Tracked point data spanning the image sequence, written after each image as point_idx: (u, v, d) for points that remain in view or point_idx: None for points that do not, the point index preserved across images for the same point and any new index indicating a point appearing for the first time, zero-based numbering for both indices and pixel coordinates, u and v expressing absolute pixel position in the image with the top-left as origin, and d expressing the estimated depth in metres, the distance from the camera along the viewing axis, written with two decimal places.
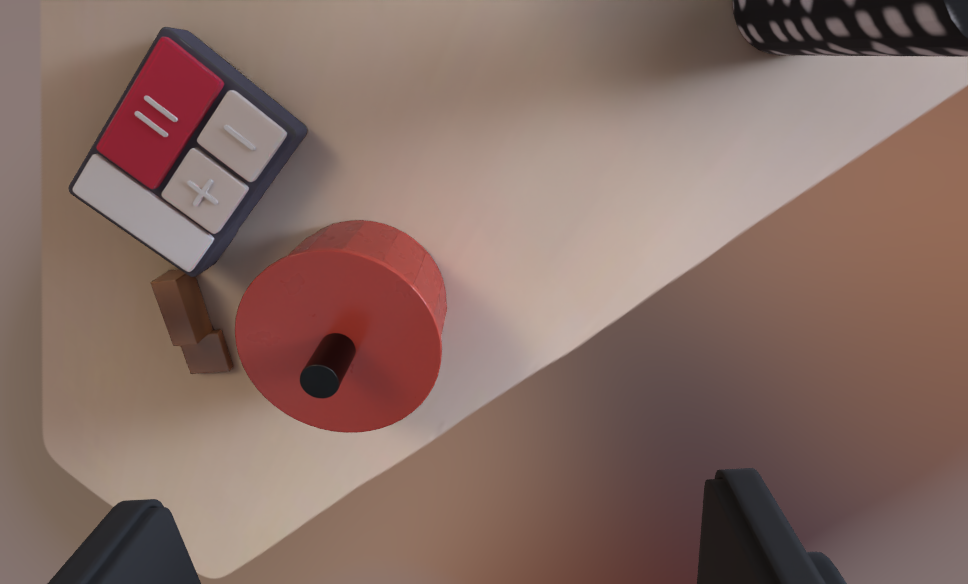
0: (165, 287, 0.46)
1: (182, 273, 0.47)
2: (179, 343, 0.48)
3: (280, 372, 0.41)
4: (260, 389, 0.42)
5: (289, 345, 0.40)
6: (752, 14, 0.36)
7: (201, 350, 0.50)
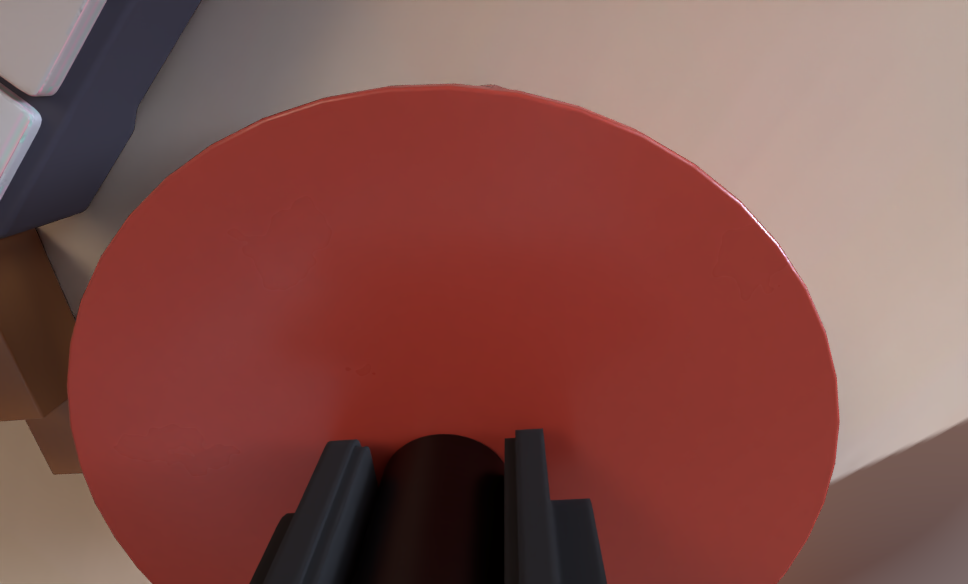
0: None
1: None
2: None
3: (243, 554, 0.12)
4: None
5: (271, 473, 0.11)
6: None
7: None
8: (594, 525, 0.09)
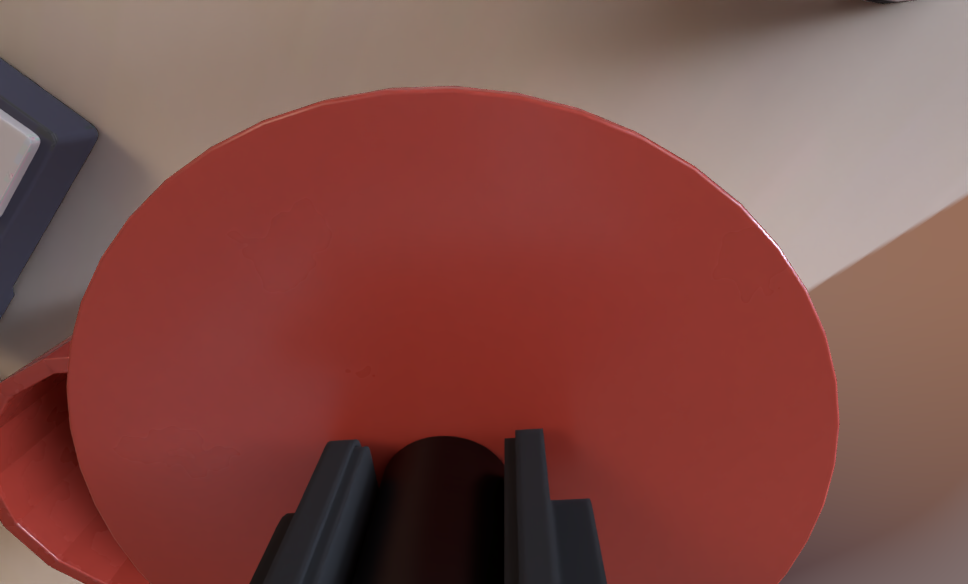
0: None
1: None
2: None
3: (243, 556, 0.12)
4: None
5: (271, 475, 0.11)
6: None
7: None
8: (594, 525, 0.09)
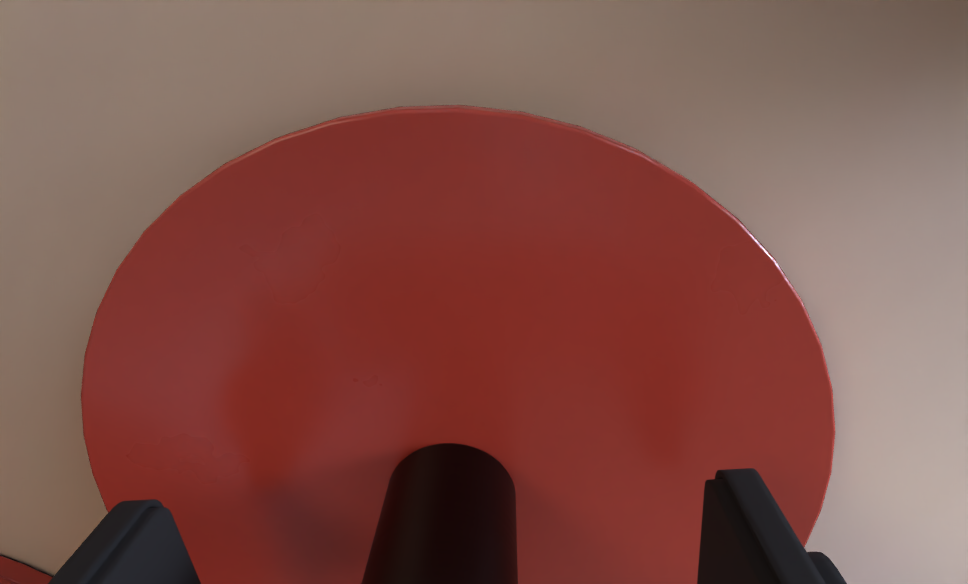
0: None
1: None
2: None
3: (251, 560, 0.12)
4: None
5: (279, 481, 0.11)
6: None
7: None
8: None
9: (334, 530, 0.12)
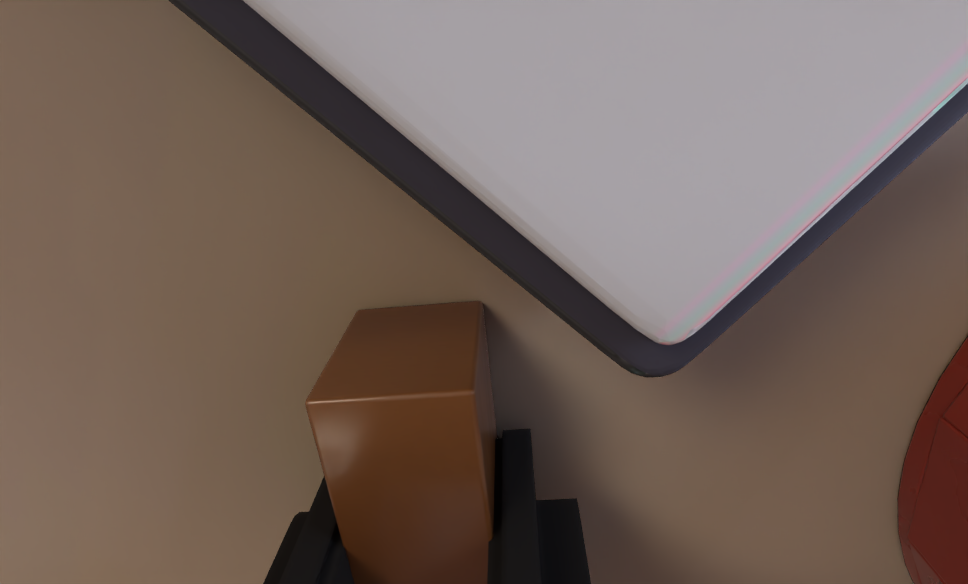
0: (397, 433, 0.07)
1: (460, 333, 0.08)
2: None
3: None
4: None
5: None
6: None
7: None
8: (580, 525, 0.09)
9: None
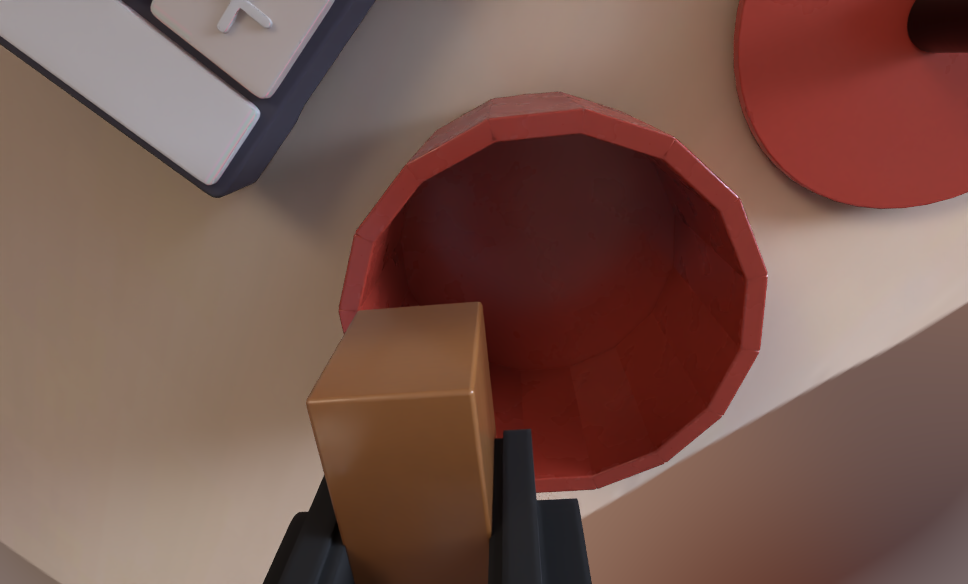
0: (397, 432, 0.07)
1: (460, 334, 0.08)
2: None
3: (808, 75, 0.22)
4: (755, 116, 0.23)
5: (848, 10, 0.21)
6: None
7: None
8: (580, 525, 0.09)
9: (866, 48, 0.21)
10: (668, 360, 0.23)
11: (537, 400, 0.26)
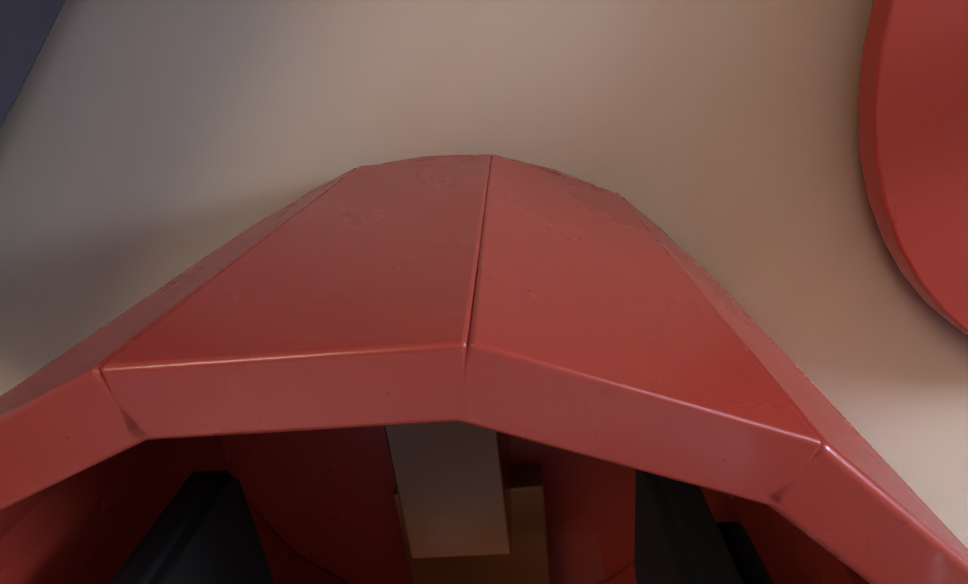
0: None
1: None
2: (439, 551, 0.12)
3: None
4: (900, 213, 0.11)
5: None
6: None
7: None
8: (756, 553, 0.08)
9: None
10: None
11: None
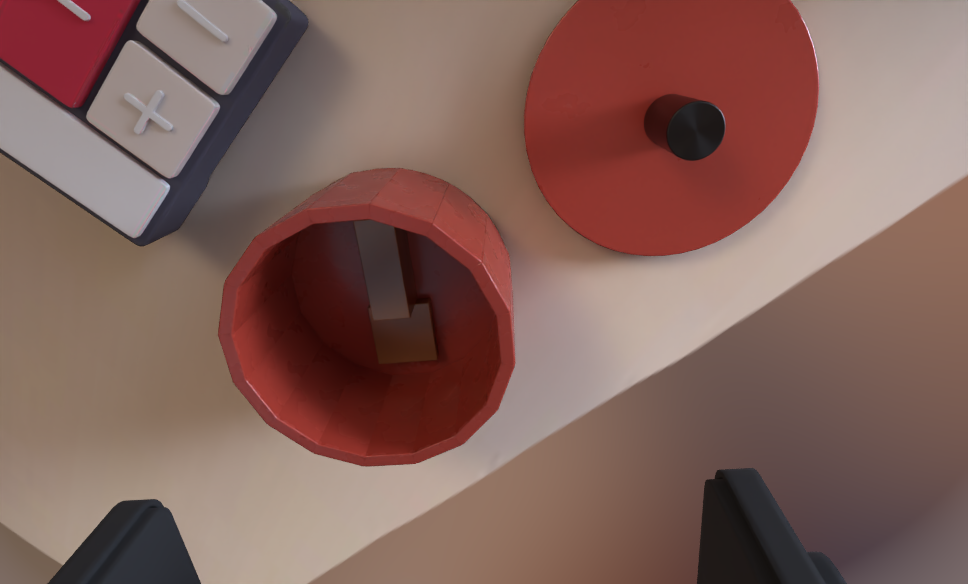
0: (375, 228, 0.29)
1: None
2: (383, 317, 0.31)
3: (578, 160, 0.30)
4: (544, 189, 0.30)
5: (600, 116, 0.29)
6: None
7: (400, 329, 0.34)
8: None
9: (617, 142, 0.29)
10: (482, 369, 0.31)
11: (396, 398, 0.34)
